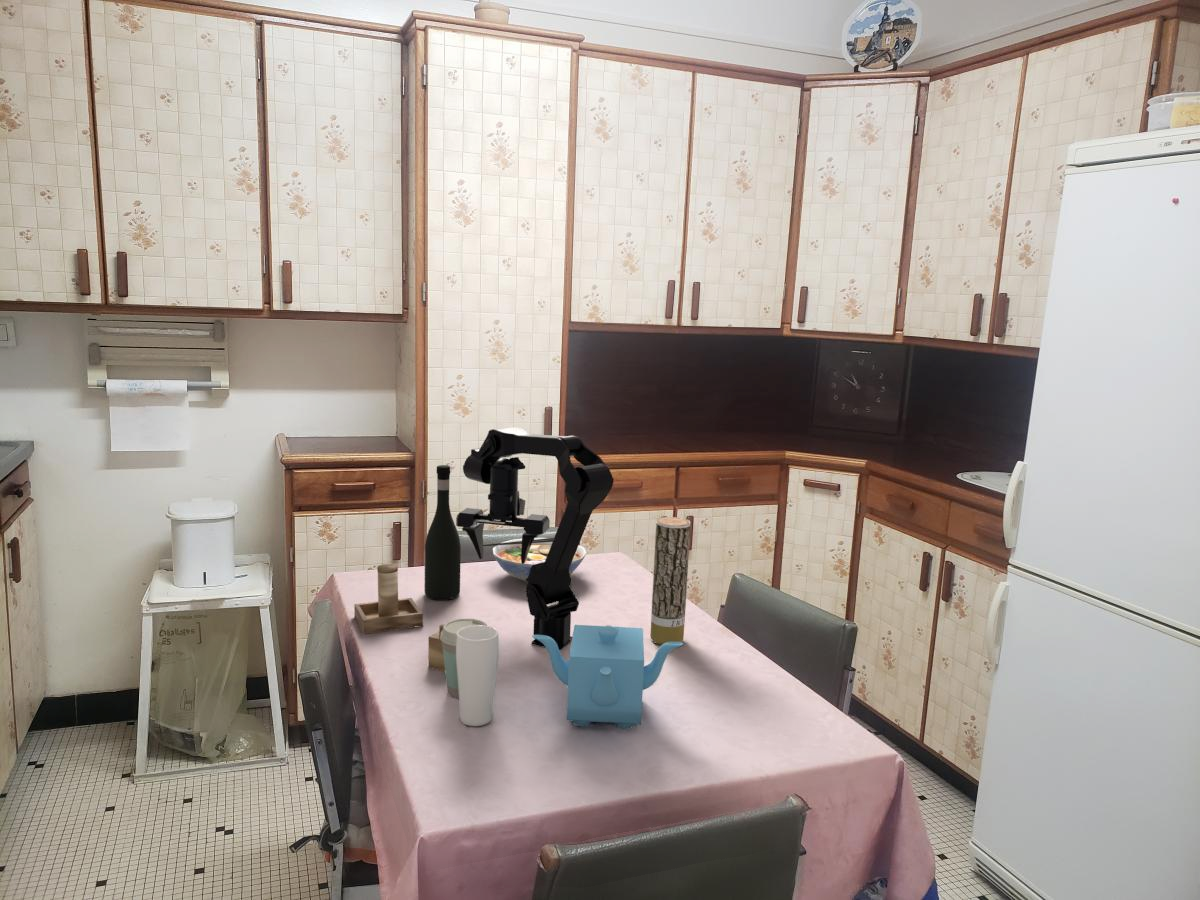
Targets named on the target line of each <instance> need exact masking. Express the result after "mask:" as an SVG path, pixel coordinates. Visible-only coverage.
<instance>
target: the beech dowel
mask: <svg viewBox="0 0 1200 900" xmlns="http://www.w3.org/2000/svg"><path fill="white" fill-rule="evenodd" d="M376 568H377V595H378V596H377V599H378V600H377V602H378V610H379V617H385V616H394V615H398V599H399V581H398V580H399V577H398V576H399V571H398V570H399V565H397V564H395V563H383V564H380V565H378V566H377V567H376Z"/></svg>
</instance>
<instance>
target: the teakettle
mask: <svg viewBox="0 0 1200 900" xmlns="http://www.w3.org/2000/svg"><path fill="white" fill-rule="evenodd" d="M531 636H532V638H533V639H534V638H535V639H537V640H539V641H540V642H542V643H543V644H544V645H545V647H544V648H546V650H547V653H548V656H549V660H550V663H551V667H552V671H553V672H554V674H555V676H556V678H557V679H558V681H560V682H561V683H562V684H563V685H565V686H567V696H566V697H567V698H566V699H567V700H566V703H567V704H566V721H571V722H573V724H574V725H576V726H579V727H585V726H586V727H587V726H589V725H591V723H592V722H594V723H595V722H596V723H609V724H610V723H611V724H612V723H613V724H616V725H617V727H619V728H620V729H632V728H634V727H635V726H636V725H642V712H643V711H642V709H643V694H644V693H643V692H644V690H647V689H649V688H650V687H652V686H653V685H654V684H655V683H656V682H657V680H658V678H659V676H660V674H661V672H662V669H663V666H664V664H665V662H666V659H667V657H668V655H669V654H670V653H671V652H672V651H674V649H677V648H679V647H681V646H684V644H685V643H684V642H683V641H682V642H667V643H664V644H663V645H661V644H660V646H659V647H658V649H657V650H656V653H655V655H654V657H653V659H652V660H651V662H650V663H648V664H647V665H645V652H644V651H645V650H644V649H645V647H644V629H643V628H642V627H629V626H627V627H626V626H612V625H589V624H586V625H585V624H574V625H573V631H572V636H571V637H572V641H571V642H570V648H569V649H570V650H569V655H568V661H567V660H566V659H565V658H564V657H563V656H562V654H561V652H560V651H561V650H559V648H558V646H557V643H556V642H555V641H554V640H553V639H552V638H551V637H549V636H545V635H531ZM633 726H634V727H633ZM631 727H632V728H631Z"/></svg>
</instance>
